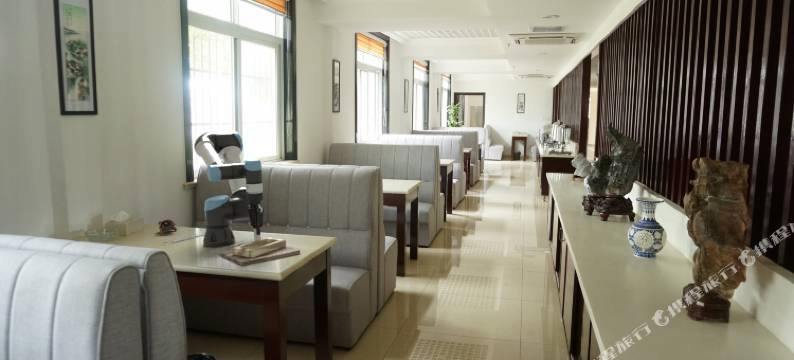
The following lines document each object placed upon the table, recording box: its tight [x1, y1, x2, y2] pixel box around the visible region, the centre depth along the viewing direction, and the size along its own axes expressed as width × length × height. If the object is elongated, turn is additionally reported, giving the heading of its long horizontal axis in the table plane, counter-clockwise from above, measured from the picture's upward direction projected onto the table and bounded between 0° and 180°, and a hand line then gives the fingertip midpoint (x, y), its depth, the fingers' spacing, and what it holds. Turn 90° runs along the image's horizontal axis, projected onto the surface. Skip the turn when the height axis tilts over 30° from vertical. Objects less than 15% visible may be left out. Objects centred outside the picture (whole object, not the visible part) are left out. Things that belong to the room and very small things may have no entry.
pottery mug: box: [157, 219, 178, 235], centre depth 299 cm, size 12×10×8 cm
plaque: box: [164, 232, 205, 245], centre depth 286 cm, size 33×10×1 cm, turn 148°
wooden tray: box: [231, 236, 287, 258], centre depth 251 cm, size 12×22×3 cm, turn 151°
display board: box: [218, 244, 301, 267], centre depth 251 cm, size 24×28×2 cm
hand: (257, 241), depth 262 cm, fingers closed
